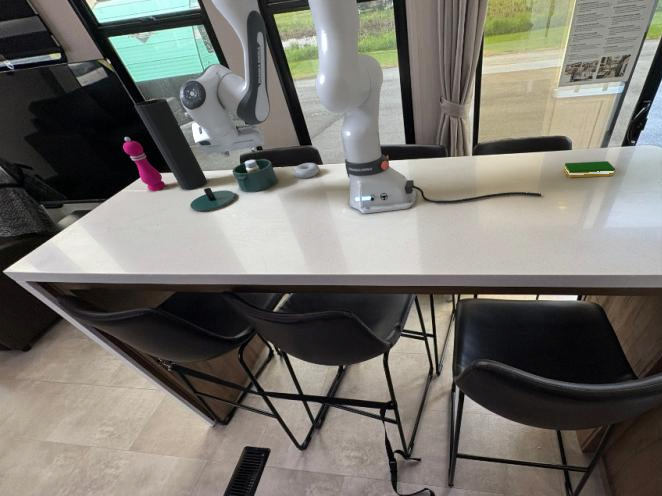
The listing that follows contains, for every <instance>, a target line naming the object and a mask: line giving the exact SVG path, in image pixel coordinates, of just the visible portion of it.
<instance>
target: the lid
mask: <svg viewBox="0 0 662 496" xmlns="http://www.w3.org/2000/svg"><path fill="white" fill-rule="evenodd" d="M203 192H204V194H202V195H200V196H198V197H196V198H195V199H193V200H192V201H191V203H190V205H189V206H190V208H191V210H193V211H196V212H205V211H211V210H215V209H218V208H221V207H224V206H226V205H227V204H229V203H230V202H232V201H233V200H234V199H235V197H236V195H235V193H234V192H233V191H231V190H225V189H224V190H216V191H215V190H214V191H213V190H212V188H211V187H206V188H204V189H203Z"/></svg>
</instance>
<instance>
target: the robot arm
mask: <svg viewBox="0 0 662 496" xmlns="http://www.w3.org/2000/svg"><path fill="white" fill-rule="evenodd" d="M210 1H211V3H212V4H213V6H214V7H215V8H216V9H217V11H218V12H219V13H220V14H221V16H223V18H224V19H225V20H226V21H227V22H228V23H229V25H230V26H231V28H232V30H233V31H234V32H235V34H236V36H237V37H238V39H239V41H240V43H241V47H242V51H243V64H244V78H243V77H241V76H240V75H238V74H237V73H236V72H234V71H232V70H231V69H229V68H228V67H226V66H224V65H222V64H220V63H213V64H210V65H208V66H206V67H205V69H204V70H202V71H201V73H200V75H199V76H198V78H196V79H188V80H187V81H185V82H184V83H182V85H181V86H180V90H179V99H180V102H181V104H182V106H183V108H184V110H185V111H186V112H187V114H188V115H189V116H190V118H191V119H192V120H193V121H194V122H192V124H191V129H192V131H191V132H192V136H193V141H194V143H195V145H196V146H197V148H198V149H199V151H201V152H202V153H203V154H204V155H205V154H206V155H213V154H219V155H222V156H224V157H225V158H227V157H230V152H231V151H238V150H244V149H250V152H252V153H257V152H258V150H257V147H264V145H265V143H266V141H265V137H264V134H263V132H262V131H261V130H260V128H259V127H258V126H257V125H260V124H262V123H265V122H266V120H267V119H268V118H269V116H270V111H271V104H270V103H271V102H270V96H269V89H268V51H267V49H268V48H267V30H266V29H267V28H266V25H265V21H264V19H263V17H262V15H261V12H260V8H259V4H258V0H210ZM307 2H308V6H309V9H310V14H311V17H312V22H313V25H314V28H315V36H316V41H317V42H316V44H317V55H318V72H317V76H316V79H315V91H316V95H317V98H318V100H319V102H320V103H321V105H322V106H323V107H324V108H325V109H326V110H328V111H329V112H331V113H341V114H342V113H343V121H342V125H341V129H340V133H341V134H340V136H341V141H342V145H343V146H342V147H343V151H344V155H345V156H344V157H345V159H344V163H345V164H344V165H345V171H346V174H347V178H348V181H349V205H350V206H351V207H352V208H353V209H356V210H358V211H360V212H361V213H362V214H373V213H381V212H390V211H398V210H399V211H400V210H408V209H410V208H411V207H413V205H414V204H415V203H416V199H417V193H416V190H417V191H419V192H420V195H421V198H422V199H423V200H424V201H426V202H430V203H434V204H457V203H463V202H469V201H471V202H472V201H476V200H477V201H478V200H482V199H486V198H487V199H488V198H494V197H501V196H517V195H518V196H535V197H541V196H542V193H540V194H539V192H528V191H527V193H526V191H508V192H507V191H506V192H500V193H491V194H485V195H478V196H474V197H473V196H472V197H466V198H461V199H449V200H448V199H447V200H446V199H445V200H444V199H442V200H433V199H429V198H427V197H425V194H424V193H425V192H424V191H423V189H422V188H420V187H418V186H416V185H415V183H414V179H407V177H406V176H405V175H404V174H402V173H401V172H399V171H397V170H396V169H394V168H393V167H391V166H390V161H389V154H387V155H384V154H383V153H382V148H381V139H380V129H379V117H380V97H381V88H382V85H383V81H384V73H383V68H382V66H381V64H380V62H379V61H378V60H377V59H376V58H375V57H374V56H373V55H370V54H365V53H359V31H360V30H359V29H360V26H361V18H360V17H361V16H360V13H359V8H358V7H359V6H358V2H357V0H307ZM230 113H231V114H234V115H235V116H237V118H239V119H240V120H241V121H243V122H244V123H245V124H241V125H237V124H236V123H235V121H234V120H233V118H232V117H231V115H230Z"/></svg>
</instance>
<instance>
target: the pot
mask: <svg viewBox="0 0 662 496" xmlns="http://www.w3.org/2000/svg"><path fill="white" fill-rule="evenodd" d="M254 160H255V161H256V164H257V165H258V166H259V169H260V170H259V171H256V172H251V173H247V170H246V165H245V162H242V163H240V164H237V165H235V166H234V168H232V171H231V172H232V174H233V176H234V179H235V180H236V183H237V186H238V188H239V189H240V191H242V192H245V193H256V192H262V191H264V190H268V189H269V188H272V187H274V186H275V185H276V184H277V182H278V178H277V175H276V172H275V169H274V167H273V164H272V162H271V161H270V160H269V159H267V158H260V159H254Z"/></svg>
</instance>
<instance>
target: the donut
mask: <svg viewBox="0 0 662 496" xmlns="http://www.w3.org/2000/svg"><path fill="white" fill-rule="evenodd" d="M293 171H294V174H295V176H296V177H297V178H300V179H308V178H312V177H315V176H317V175H318V174H319V172H320V167H319V165H318V164H317V163H315V162H305V163H301V164H299V165H296V167H295V168H294V170H293Z"/></svg>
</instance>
